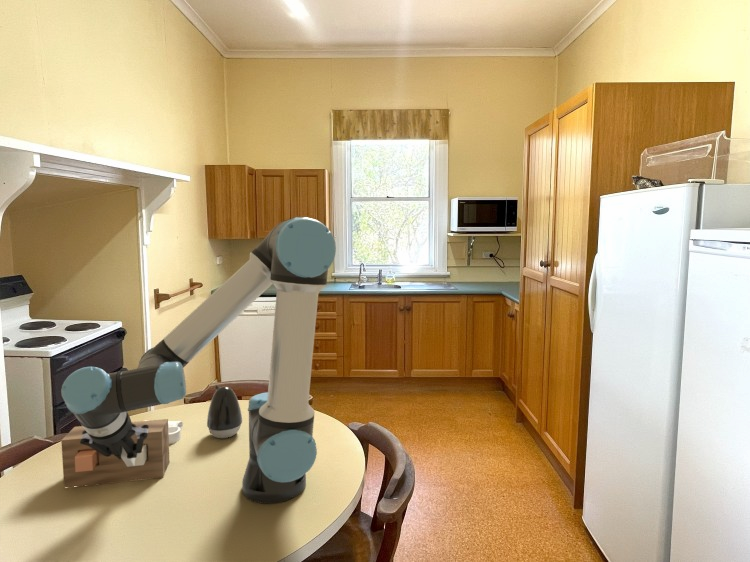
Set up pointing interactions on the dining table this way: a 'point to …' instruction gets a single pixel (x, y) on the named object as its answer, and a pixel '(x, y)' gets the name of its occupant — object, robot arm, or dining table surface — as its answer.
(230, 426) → the black egg shaped device
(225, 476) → the dining table surface
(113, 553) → the dining table surface
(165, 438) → the key console
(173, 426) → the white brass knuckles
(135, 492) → the dining table surface
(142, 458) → the ivory key
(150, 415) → the dining table surface
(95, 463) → the terracotta key
